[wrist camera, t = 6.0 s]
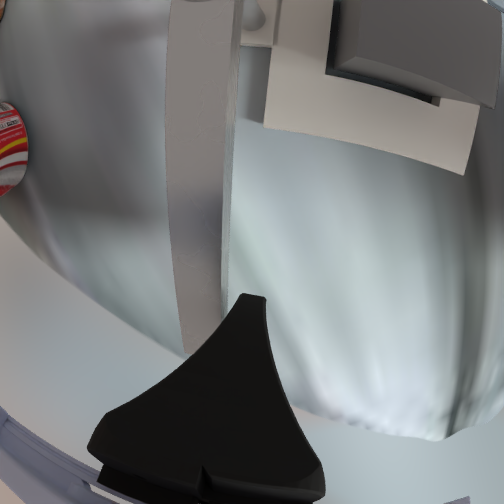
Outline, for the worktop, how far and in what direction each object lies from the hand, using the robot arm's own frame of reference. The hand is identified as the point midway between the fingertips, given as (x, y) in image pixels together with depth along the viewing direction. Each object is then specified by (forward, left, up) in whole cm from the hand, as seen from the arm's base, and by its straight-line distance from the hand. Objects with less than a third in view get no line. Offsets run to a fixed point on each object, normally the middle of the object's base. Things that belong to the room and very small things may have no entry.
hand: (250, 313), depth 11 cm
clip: (+2, -5, 0) cm, 5 cm away
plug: (-4, -11, -6) cm, 13 cm away
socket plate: (-3, -11, -6) cm, 13 cm away
